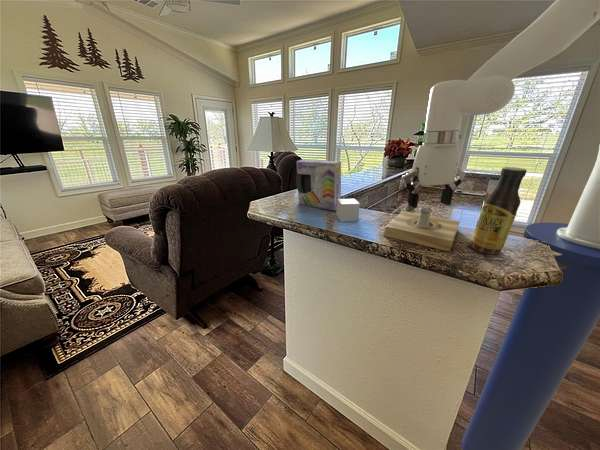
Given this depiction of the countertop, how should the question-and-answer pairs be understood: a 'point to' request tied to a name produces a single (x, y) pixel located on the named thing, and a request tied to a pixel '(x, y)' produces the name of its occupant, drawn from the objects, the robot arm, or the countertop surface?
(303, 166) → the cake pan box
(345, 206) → the white cube
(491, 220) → the sauce bottle
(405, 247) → the countertop surface
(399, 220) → the wooden block
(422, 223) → the rook chess piece
